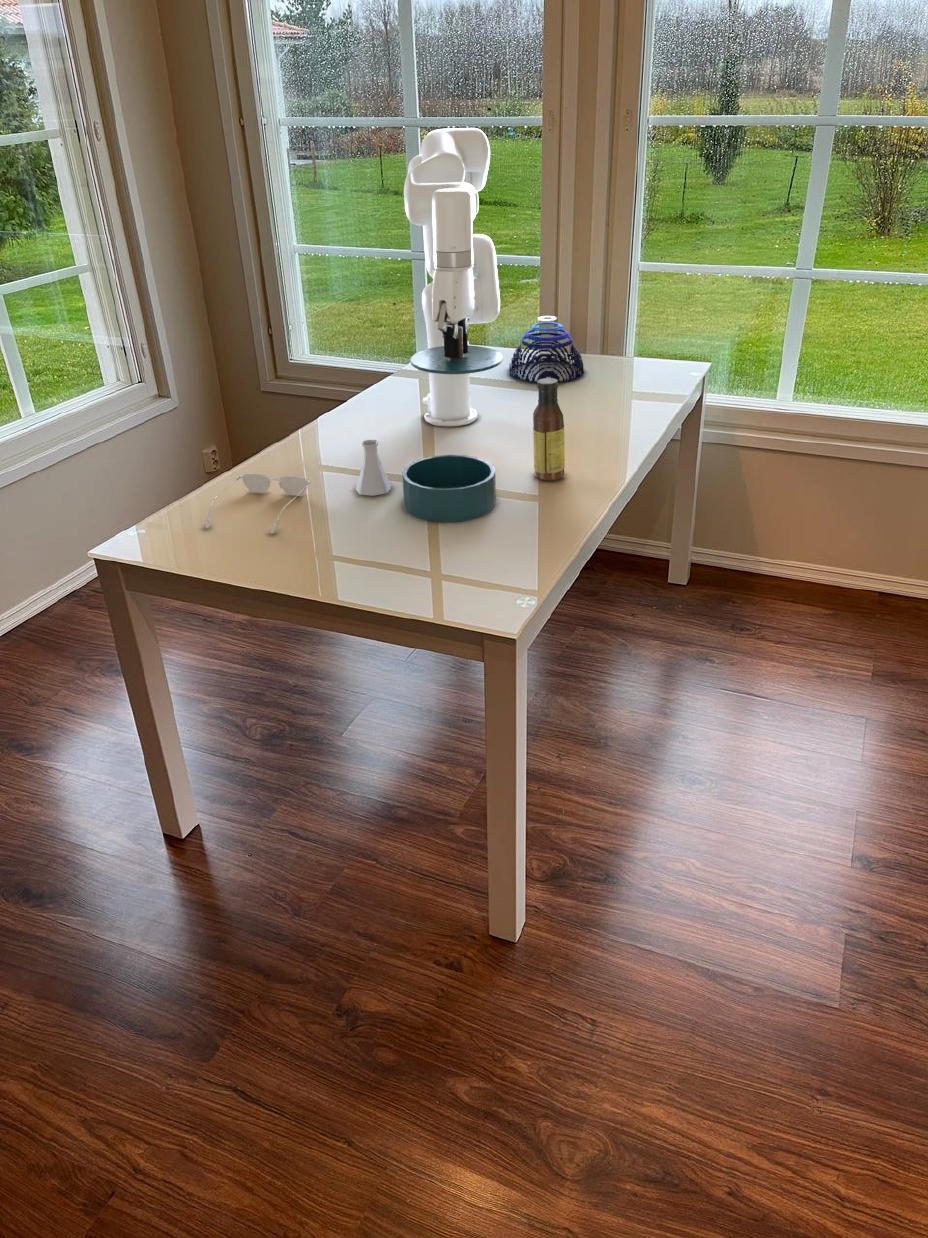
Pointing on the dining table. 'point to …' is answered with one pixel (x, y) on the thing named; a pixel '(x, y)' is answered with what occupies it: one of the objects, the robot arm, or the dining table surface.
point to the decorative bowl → (576, 356)
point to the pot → (449, 488)
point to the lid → (465, 364)
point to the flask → (372, 472)
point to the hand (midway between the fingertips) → (456, 354)
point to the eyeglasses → (262, 483)
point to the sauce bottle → (548, 432)
